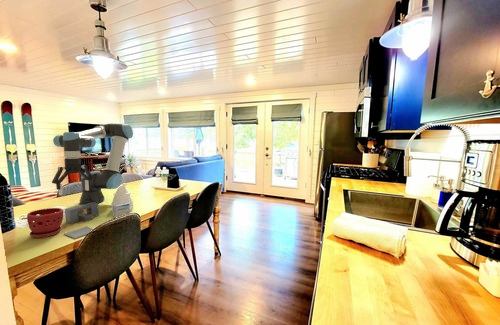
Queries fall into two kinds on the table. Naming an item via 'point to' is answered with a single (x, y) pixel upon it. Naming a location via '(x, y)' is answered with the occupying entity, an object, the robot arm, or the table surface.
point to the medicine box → (121, 209)
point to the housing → (72, 212)
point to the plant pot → (45, 222)
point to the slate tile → (79, 232)
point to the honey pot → (122, 197)
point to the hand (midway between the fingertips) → (74, 192)
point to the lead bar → (84, 216)
